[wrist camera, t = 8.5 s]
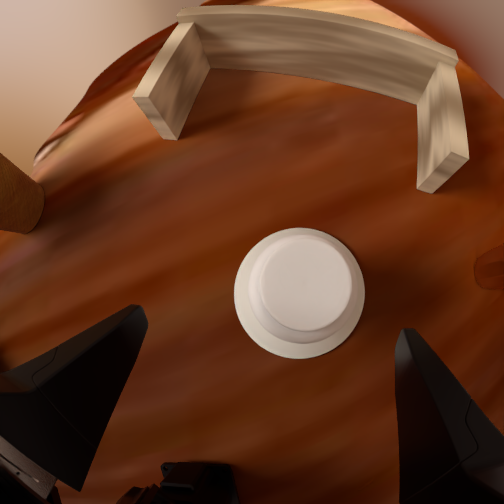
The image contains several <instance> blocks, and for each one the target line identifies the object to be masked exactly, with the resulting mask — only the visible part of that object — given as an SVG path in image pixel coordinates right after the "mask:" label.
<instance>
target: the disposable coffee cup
mask: <svg viewBox="0 0 504 504" xmlns="http://www.w3.org/2000/svg"><path fill="white" fill-rule="evenodd" d="M44 201H45V196H44V191H43V188H42V187H41V186H40V185H39V184H37V183H36V182H35V181H34V180H32V179H31V178H30V177H29V176H27V175H26V174H25V173H24V172H22V171H21V170H20V169H19V168H18V167H17V166H15V165H14V164H13V163H12V162H11V161H9V160H8V159H7V158H6V157H4V156H3V155H2V154H1V153H0V230H4V231H10V232H16V233H21V234H25V233H28V232H30V231H31V230H32V229H33V228H34V227H35V225H36V224H37V222H38V221H39V219H40V217H41V214H42V211H43V207H44Z"/></svg>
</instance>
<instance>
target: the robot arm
mask: <svg viewBox="0 0 504 504" xmlns="http://www.w3.org/2000/svg"><path fill="white" fill-rule="evenodd" d="M147 329H148V321H147V318H146V315H145V313H144V310H143V308H142V306H140V305H134V304H131V305H129V306H127V307H126V308H124V309H122V310H120V311H118V312H117V313H115V314H113V315H111V316H109V317H108V318H106V319H104V320H102V321H101V322H99V323H97V324H95V325H94V326H92V327H90V328H88V329H86V330H85V331H83V332H81V333H79V334H78V335H76V336H74V337H72V338H71V339H69V340H67V341H65V342H64V343H62V344H60V345H59V346H57V347H55V348H53V349H51V350H50V351H48V352H46V353H44V354H42V355H41V356H38V357H36V358H34V359H32V360H30V361H28V362H26V363H24V364H22V365H20V366H18V367H16V368H14V369H12V370H9V371H7V372H2V373H0V504H62V503H61V500H60V496H59V493H58V489H57V487H56V486H54V485H55V483H56V481H57V479H59V480H60V481H62V482H63V483H65V484H67V485H68V486H70V487H72V488H73V489H75V490H77V491H78V492H80V491H81V489H82V487H83V484H84V481H85V479H86V476H87V474H88V471H89V468H90V466H91V463H92V461H93V458H94V456H95V453H96V451H97V448H98V446H99V443H100V441H101V438H102V436H103V434H104V431H105V429H106V427H107V424H108V422H109V420H110V417H111V415H112V413H113V410H114V408H115V406H116V404H117V401H118V399H119V397H120V395H121V392H122V390H123V388H124V386H125V384H126V381H127V379H128V377H129V375H130V373H131V371H132V369H133V366H134V364H135V362H136V359H137V357H138V354H139V351H140V348H141V345H142V343H143V340H144V337H145V334H146V331H147ZM395 397H396V408H397V421H398V437H399V464H400V491H399V503H400V504H504V436H503V435H502V433H501V432H500V431H499V430H498V429H497V428H496V427H495V426H494V425H493V423H492V422H491V421H490V420H489V419H488V418H487V417H486V415H485V414H484V413H483V412H482V410H481V409H480V408H479V407H478V405H477V404H476V403H475V401H474V400H473V399H471V396H470V395H469V394H468V393H467V391H466V390H465V389H464V387H463V386H462V385H461V384H460V382H459V381H458V380H457V379H456V377H455V376H454V375H453V374H452V372H451V371H450V370H449V369H448V368H447V366H446V365H445V364H444V363H443V362H442V360H441V359H440V358H439V357H438V356H437V354H436V353H435V352H434V351H433V350H432V348H431V347H430V346H429V345H428V344H427V343H426V341H425V340H424V339H423V338H422V337H421V336H420V335H419V333H418V332H417V331H416V330H415V329H413V328H404V329H402V330H401V332H400V335H399V338H398V341H397V344H396V347H395ZM165 466H166V467H167V468H168V469H167V468H165ZM223 468H226V469H227V471H225V470H223ZM161 470H162V473H163V477H164V479H163V481H162V482H161V483H160V485H161V486H160V488H159V487H158V486H156V485H155V484H152V485H151V486H149V487H148V486H147V487H145V488H138V487H132V488H131V489H130V490H129V491H127V492H126V493H125V494H124V495H123V496H122V497H121V498H120V499H119V500H118V502H117V503H116V504H240V501H239V497H238V493H237V489H236V485H235V481H234V477H233V473H232V469H231V467H230V466H229V465H227V464H205V463H189V462H178V463H167V462H166V463H163V464H162V465H161Z"/></svg>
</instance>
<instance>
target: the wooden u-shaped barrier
mask: <svg viewBox="0 0 504 504" xmlns="http://www.w3.org/2000/svg"><path fill="white" fill-rule="evenodd" d="M176 17H177V20H178V22H179V24H178V26H177V27H176V28H175V30H174V31H173V33H172V34H171V35H170V37H169V38H168V40H167V41H166V43H165V44H164V46H163V47H162V49H161V50H160V52H159V53H158V55H157V56H156V58H155V59H154V61H153V63H152V64H151V66H150V67H149V69H148V71H147V72H146V74H145V76H144V77H143V79H142V81H141V82H140V84H139V86H138V88H137V89H136V91H135V93H134V95H133V96H132V98H133V99H134V100H135V102H136V103H137V104H138V106H139V107H140V108H141V110H142V111H143V112H144V114H145V115H146V116H147V118H148V119H149V120H150V122H151V123H152V125H153V126H154V127H155V129H156V130H157V131H158V133H159V134H160V135H161V137H162V138H163V139H169V140H178V138H179V135H180V133H181V130H182V128H183V126H184V123H185V121H186V119H187V117H188V114H189V112H190V110H191V108H192V106H193V103H194V101H195V99H196V97H197V95H198V93H199V90H200V88H201V86H202V84H203V82H204V80H205V78H206V76H207V74H208V72H209V70H210V68H221V69H239V70H252V71H263V72H272V73H280V74H288V75H295V76H301V77H307V78H313V79H319V80H324V81H329V82H334V83H339V84H343V85H348V86H352V87H356V88H361V89H364V90H368V91H372V92H376V93H380V94H383V95H387V96H390V97H393V98H397V99H400V100H403V101H406V102H409V103H412V104H415V105H417V117H418V171H417V189H418V190H422V191H425V192H428V193H431V194H432V193H433V192H435V191H436V190H437V189H438V188H439V187H440V186H441V185H442V184H443V183H444V182H445V181H447V180H448V179H449V178H450V177H451V176H452V175H453V174H454V173H455V172H456V171H457V170H458V169H459V168H460V167H461V166H462V165H463V164H465V163H466V162H467V161H468V160H469V151H468V141H467V132H466V124H465V117H464V111H463V105H462V99H461V94H460V89H459V84H458V80H457V75H456V71H455V66H456V64H457V62H458V57H457V54H456V50H454V49H451V48H449V47H447V46H444V45H442V44H440V43H437V42H435V41H432V40H429V39H427V38H424V37H421V36H418V35H415V34H413V33H410V32H407V31H403V30H400V29H397V28H394V27H390V26H387V25H383V24H379V23H376V22H372V21H368V20H363V19H359V18H355V17H350V16H345V15H340V14H334V13H328V12H322V11H315V10H308V9H299V8H289V7H276V6H256V5H222V6H202V7H190V8H183V9H182V10H181V11H180V12H179V13H178V15H177V16H176Z"/></svg>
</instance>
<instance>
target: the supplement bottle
mask: <svg viewBox="0 0 504 504" xmlns="http://www.w3.org/2000/svg"><path fill="white" fill-rule="evenodd" d="M357 296H358V281H357V275H356V272H355V269H354V266H353V264H352V262H351V260H350V259H349V257H348V256H347V255H346V253H345V252H344V251H343V250H342V249H341V248H340V247H339V246H337V245H336V244H335V243H333V242H332V241H330V240H328V239H326V238H323V237H321V236H317V235H313V234H294V235H289V236H286V237H283V238H281V239H279V240H277V241H275V242H273V243H272V244H270V245H269V246H268V247H267V248H266V249H265V250H264V251H263V252H262V253H261V254H260V255H259V257H258V258H257V260H256V261H255V263H254V265H253V267H252V270H251V273H250V276H249V281H248V297H249V302H250V306H251V309H252V311H253V313H254V315H255V317H256V319H257V320H258V321H259V323H260V324H261V325H262V326H263V327H264V328H265V329H266V330H267V331H268V332H269V333H271V334H272V335H273V336H275V337H277V338H279V339H281V340H284V341H287V342H291V343H297V344H309V343H315V342H319V341H322V340H324V339H326V338H328V337H330V336H332V335H333V334H335V333H336V332H337V331H339V330H340V329H341V328H342V327H343V326H344V325H345V323H346V322H347V321H348V319H349V318H350V316H351V314H352V312H353V310H354V308H355V305H356V301H357Z"/></svg>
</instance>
